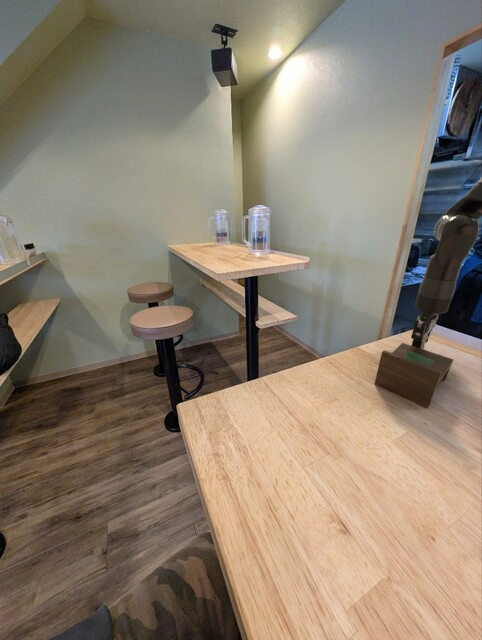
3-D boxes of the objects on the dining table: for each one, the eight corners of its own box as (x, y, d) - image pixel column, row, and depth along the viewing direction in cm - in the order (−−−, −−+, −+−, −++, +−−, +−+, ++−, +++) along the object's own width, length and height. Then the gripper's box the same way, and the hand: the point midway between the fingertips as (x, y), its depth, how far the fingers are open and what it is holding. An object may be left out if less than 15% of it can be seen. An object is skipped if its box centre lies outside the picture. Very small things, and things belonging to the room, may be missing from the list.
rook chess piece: (414, 351, 79) (421, 328, 76) (428, 358, 76) (436, 335, 72) (403, 353, 78) (410, 331, 75) (417, 361, 74) (424, 337, 71)
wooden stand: (397, 359, 75) (405, 330, 71) (446, 378, 67) (458, 346, 63) (374, 384, 66) (381, 351, 62) (427, 408, 58) (440, 373, 54)
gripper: (444, 303, 61) (425, 360, 69) (459, 289, 70) (440, 341, 77) (410, 296, 67) (396, 350, 74) (427, 284, 75) (413, 333, 82)
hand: (419, 345), depth 75 cm, fingers open, 6 cm apart
